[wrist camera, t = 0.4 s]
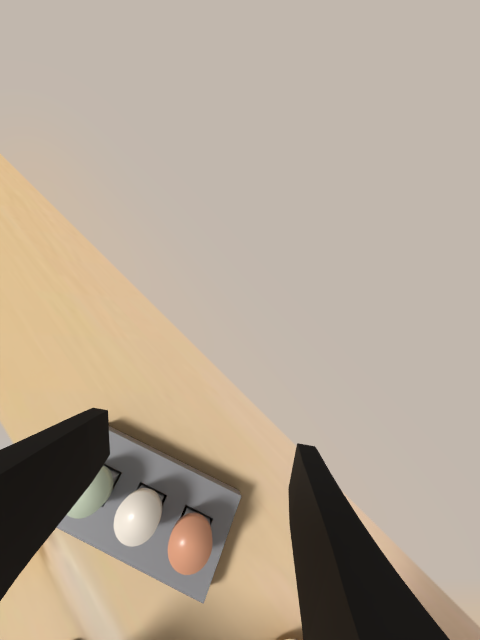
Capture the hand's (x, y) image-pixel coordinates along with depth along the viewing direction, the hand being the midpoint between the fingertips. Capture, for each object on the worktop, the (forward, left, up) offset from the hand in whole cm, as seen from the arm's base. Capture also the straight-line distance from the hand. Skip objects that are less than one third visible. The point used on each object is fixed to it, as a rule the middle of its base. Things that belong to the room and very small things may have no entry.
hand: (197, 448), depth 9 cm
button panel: (-10, +2, -27) cm, 29 cm away
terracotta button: (-10, -4, -25) cm, 27 cm away
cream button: (-10, +2, -25) cm, 27 cm away
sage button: (-10, +8, -25) cm, 28 cm away
